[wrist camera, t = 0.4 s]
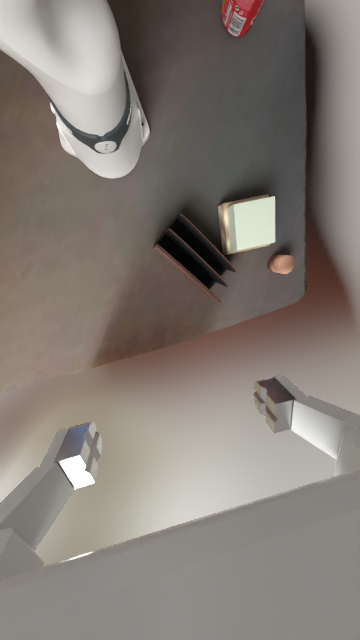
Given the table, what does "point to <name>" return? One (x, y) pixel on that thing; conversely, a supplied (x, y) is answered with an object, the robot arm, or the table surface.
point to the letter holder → (193, 255)
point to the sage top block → (251, 223)
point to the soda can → (239, 15)
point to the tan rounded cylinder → (281, 263)
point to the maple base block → (225, 228)
